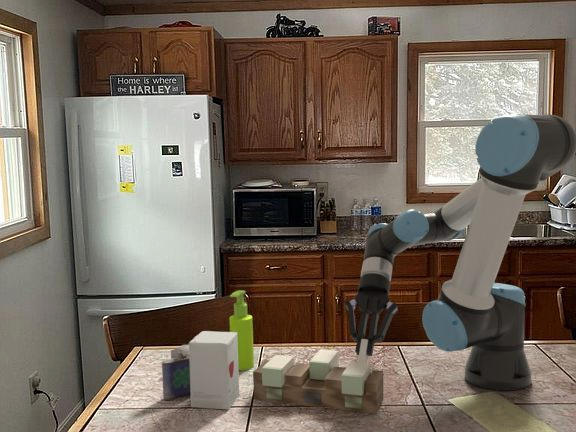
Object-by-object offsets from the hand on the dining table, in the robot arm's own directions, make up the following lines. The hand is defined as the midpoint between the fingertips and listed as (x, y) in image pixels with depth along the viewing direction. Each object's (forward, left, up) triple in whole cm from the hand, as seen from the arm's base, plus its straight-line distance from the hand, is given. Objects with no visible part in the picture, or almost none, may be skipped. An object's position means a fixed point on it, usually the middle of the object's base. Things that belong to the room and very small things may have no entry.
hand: (361, 367), depth 145 cm
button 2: (0, +6, -2) cm, 6 cm away
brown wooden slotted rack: (+9, +5, -6) cm, 12 cm away
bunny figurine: (+48, -8, -7) cm, 50 cm away
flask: (+40, +11, -7) cm, 42 cm away
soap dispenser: (+34, -10, -7) cm, 36 cm away
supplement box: (+31, +12, -7) cm, 34 cm away
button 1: (+18, +6, -2) cm, 19 cm away
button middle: (+9, 0, -2) cm, 9 cm away
